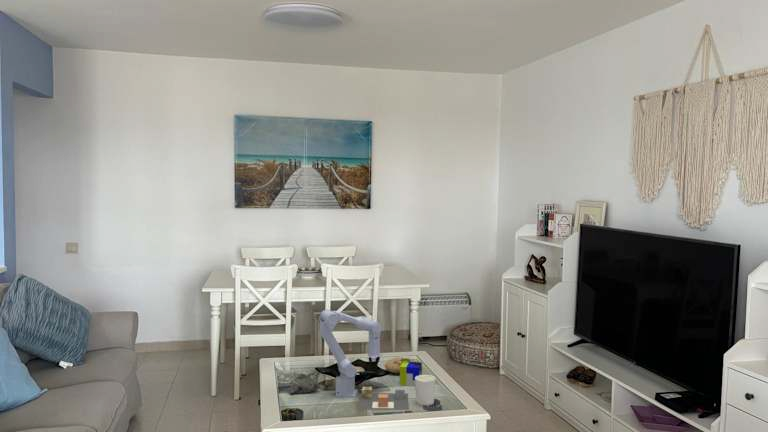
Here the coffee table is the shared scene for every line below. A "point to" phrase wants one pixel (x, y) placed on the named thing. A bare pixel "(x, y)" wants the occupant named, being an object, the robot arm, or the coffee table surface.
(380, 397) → the terracotta block
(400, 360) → the nautilus
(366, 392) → the beech block
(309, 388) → the mineral rock
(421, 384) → the candle holder
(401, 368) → the puzzle toy
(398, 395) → the slate block
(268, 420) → the coffee table surface
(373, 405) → the mat
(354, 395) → the robot arm
